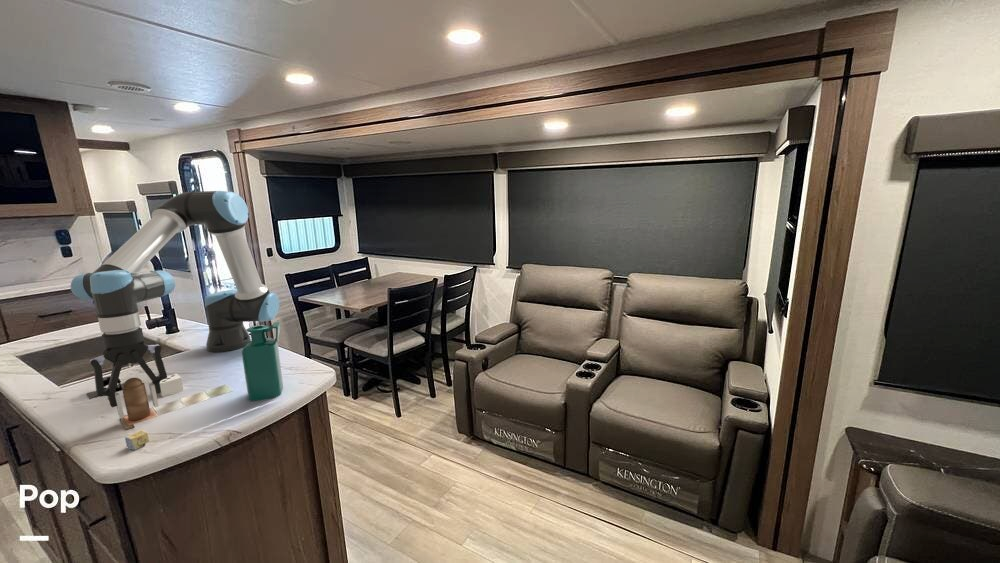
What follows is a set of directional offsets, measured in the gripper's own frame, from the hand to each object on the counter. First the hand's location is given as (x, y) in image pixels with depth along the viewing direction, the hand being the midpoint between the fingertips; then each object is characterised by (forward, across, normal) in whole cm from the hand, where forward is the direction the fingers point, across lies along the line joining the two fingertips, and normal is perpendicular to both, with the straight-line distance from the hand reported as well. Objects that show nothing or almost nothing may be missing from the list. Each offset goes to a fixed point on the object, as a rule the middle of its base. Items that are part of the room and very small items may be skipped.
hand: (139, 410), depth 103 cm
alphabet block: (+3, +3, +16) cm, 16 cm away
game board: (+2, -9, 0) cm, 9 cm away
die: (+2, -9, -12) cm, 15 cm away
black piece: (+3, +2, -30) cm, 30 cm away
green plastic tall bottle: (+3, -27, +14) cm, 31 cm away
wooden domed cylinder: (+2, 0, 0) cm, 2 cm away
